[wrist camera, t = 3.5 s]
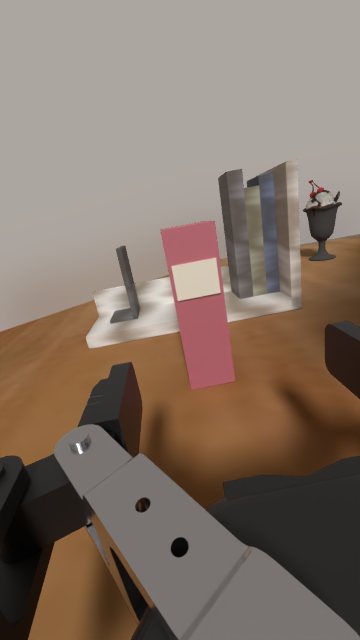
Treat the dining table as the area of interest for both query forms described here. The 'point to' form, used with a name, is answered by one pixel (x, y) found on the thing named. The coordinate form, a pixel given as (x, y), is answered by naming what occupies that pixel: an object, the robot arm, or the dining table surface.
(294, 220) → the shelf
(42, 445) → the dining table surface
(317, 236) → the sundae
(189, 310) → the book
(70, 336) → the dining table surface
